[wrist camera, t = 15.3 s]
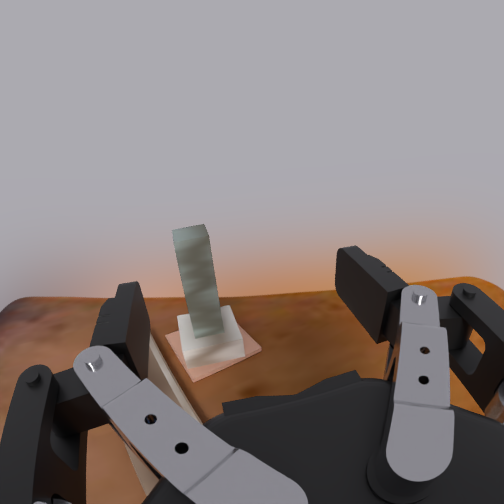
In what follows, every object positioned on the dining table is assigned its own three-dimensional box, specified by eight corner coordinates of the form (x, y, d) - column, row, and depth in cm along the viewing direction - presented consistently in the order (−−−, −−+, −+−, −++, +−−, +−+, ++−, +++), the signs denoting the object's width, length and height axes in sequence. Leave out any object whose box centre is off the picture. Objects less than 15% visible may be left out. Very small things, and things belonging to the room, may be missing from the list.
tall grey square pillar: (187, 369, 30) (156, 253, 24) (181, 332, 35) (156, 227, 29) (245, 356, 31) (230, 238, 25) (232, 322, 36) (217, 216, 30)
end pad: (193, 382, 28) (192, 379, 28) (166, 338, 35) (165, 335, 35) (261, 350, 32) (261, 347, 32) (225, 314, 38) (225, 311, 38)
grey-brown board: (158, 514, 16) (153, 510, 15) (98, 355, 32) (95, 349, 32) (239, 479, 19) (238, 474, 18) (151, 336, 35) (148, 329, 35)
